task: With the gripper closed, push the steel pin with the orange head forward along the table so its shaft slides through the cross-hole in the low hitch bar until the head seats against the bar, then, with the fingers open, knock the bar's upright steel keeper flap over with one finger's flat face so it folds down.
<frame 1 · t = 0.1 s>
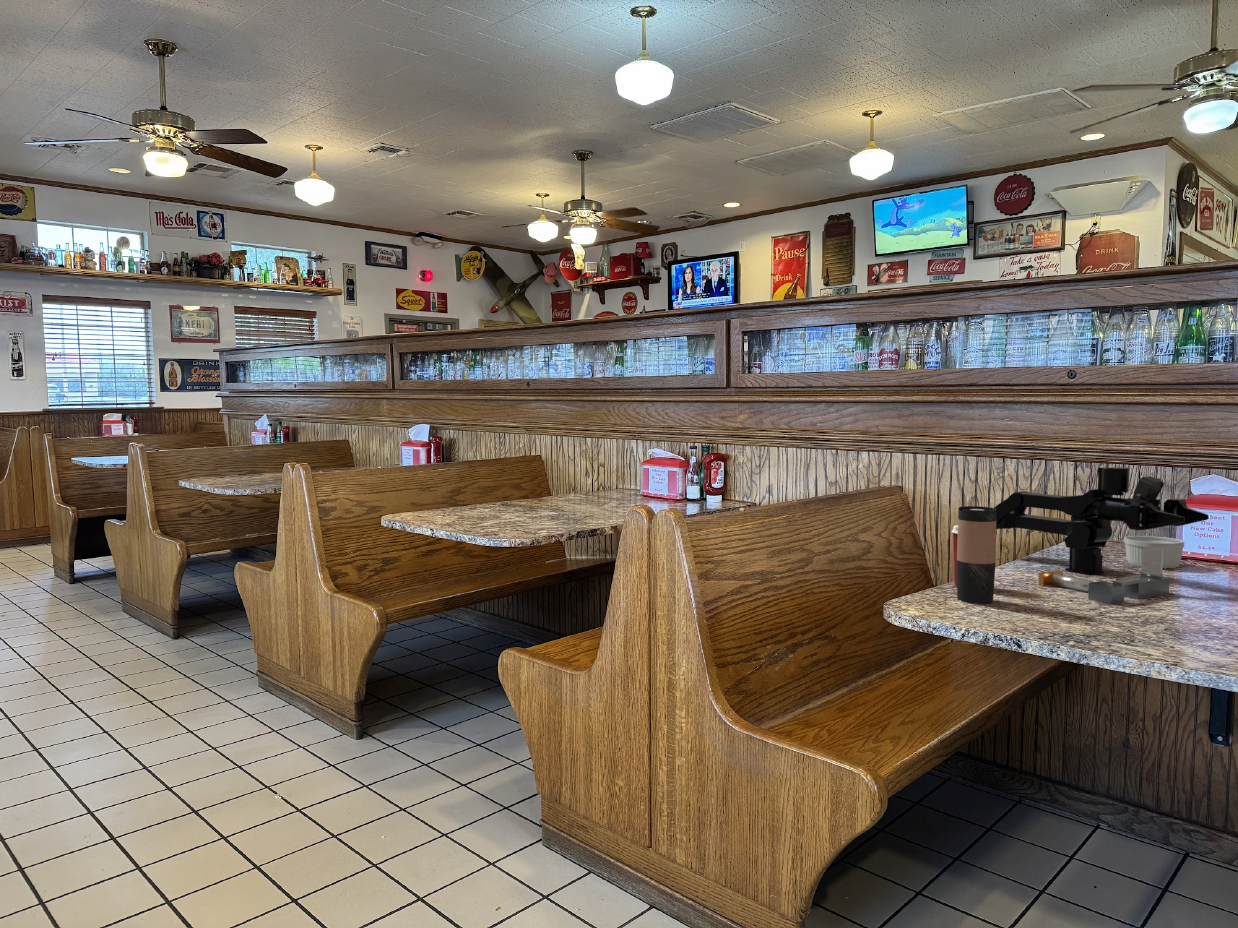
hand: (1196, 518, 181), 17 cm above the table, tool horizontal, fingers open, 9 cm apart
paper cup: (968, 587, 188), on the table
keeper flap: (1152, 562, 181), point 7 cm above the table, hinge at -5.0°
ramekin: (1152, 566, 213), on the table
travel mug: (974, 601, 175), on the table
hitch bar: (1129, 596, 178), on the table
pin: (1050, 584, 190), on the table
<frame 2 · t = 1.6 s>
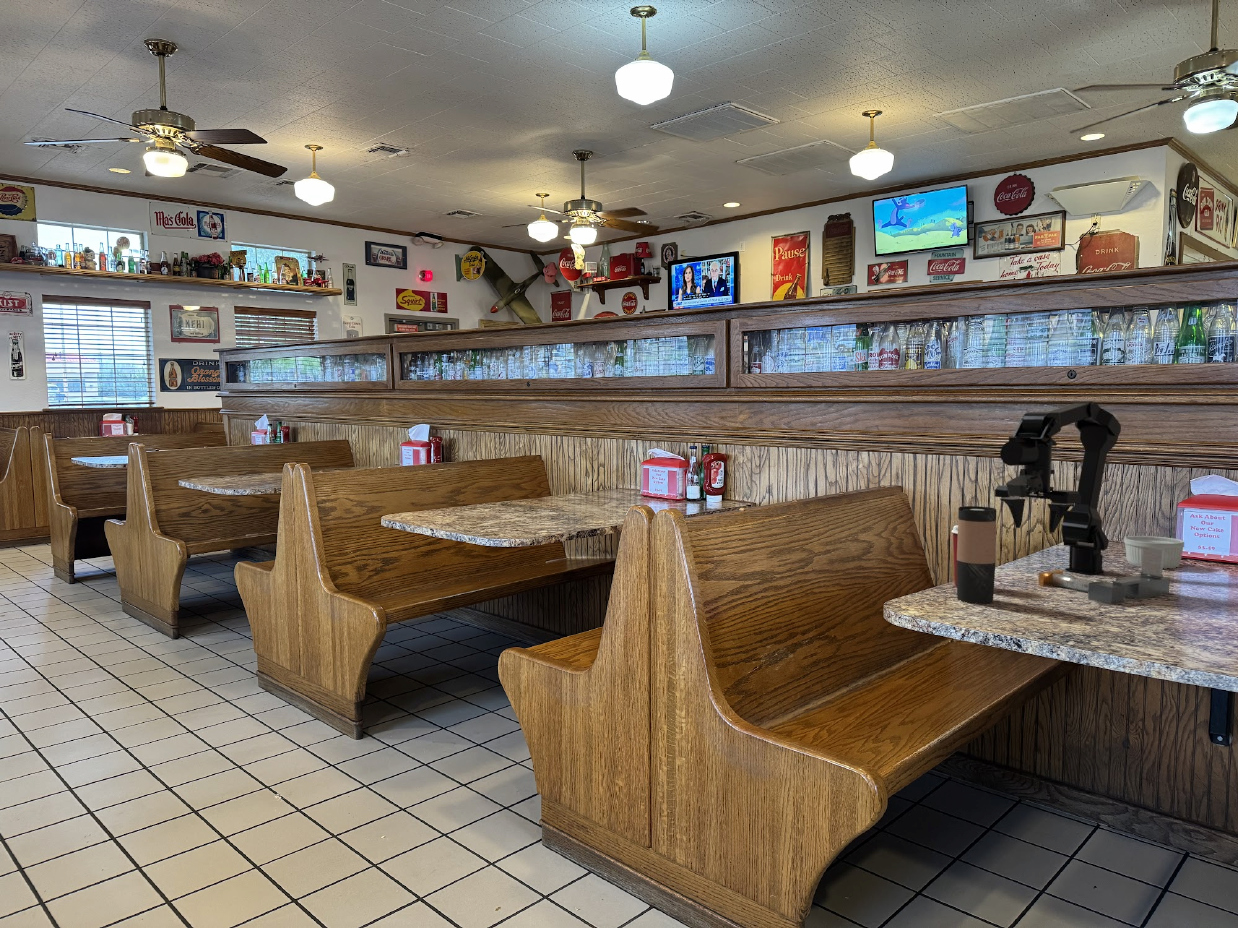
hand: (1034, 530, 193), 12 cm above the table, tool pointing down, fingers open, 8 cm apart
nothing on the table moved.
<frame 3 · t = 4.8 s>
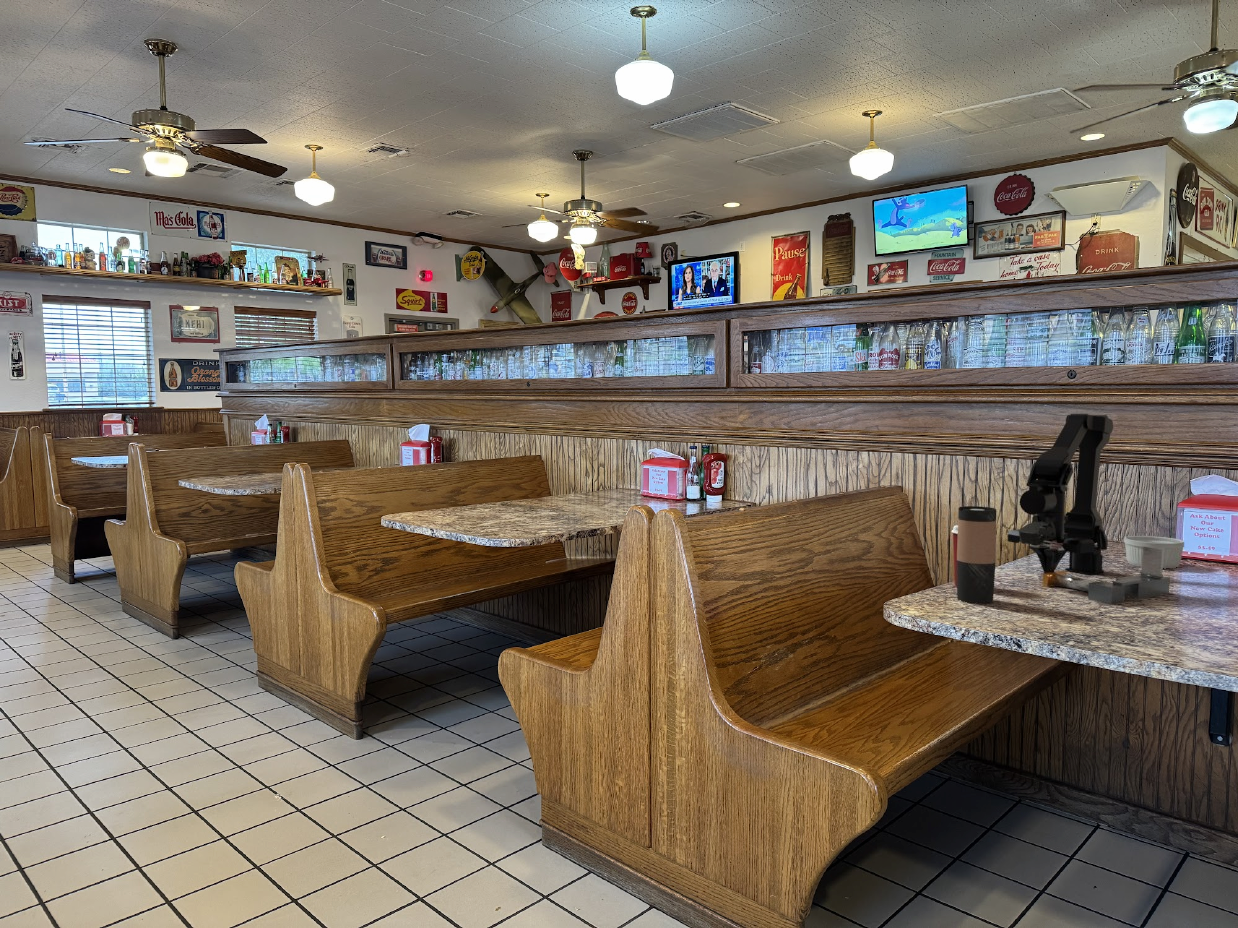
hand: (1048, 576, 191), 2 cm above the table, tool pointing down, fingers closed
pin: (1054, 584, 189), on the table, touching gripper
everything else where it was.
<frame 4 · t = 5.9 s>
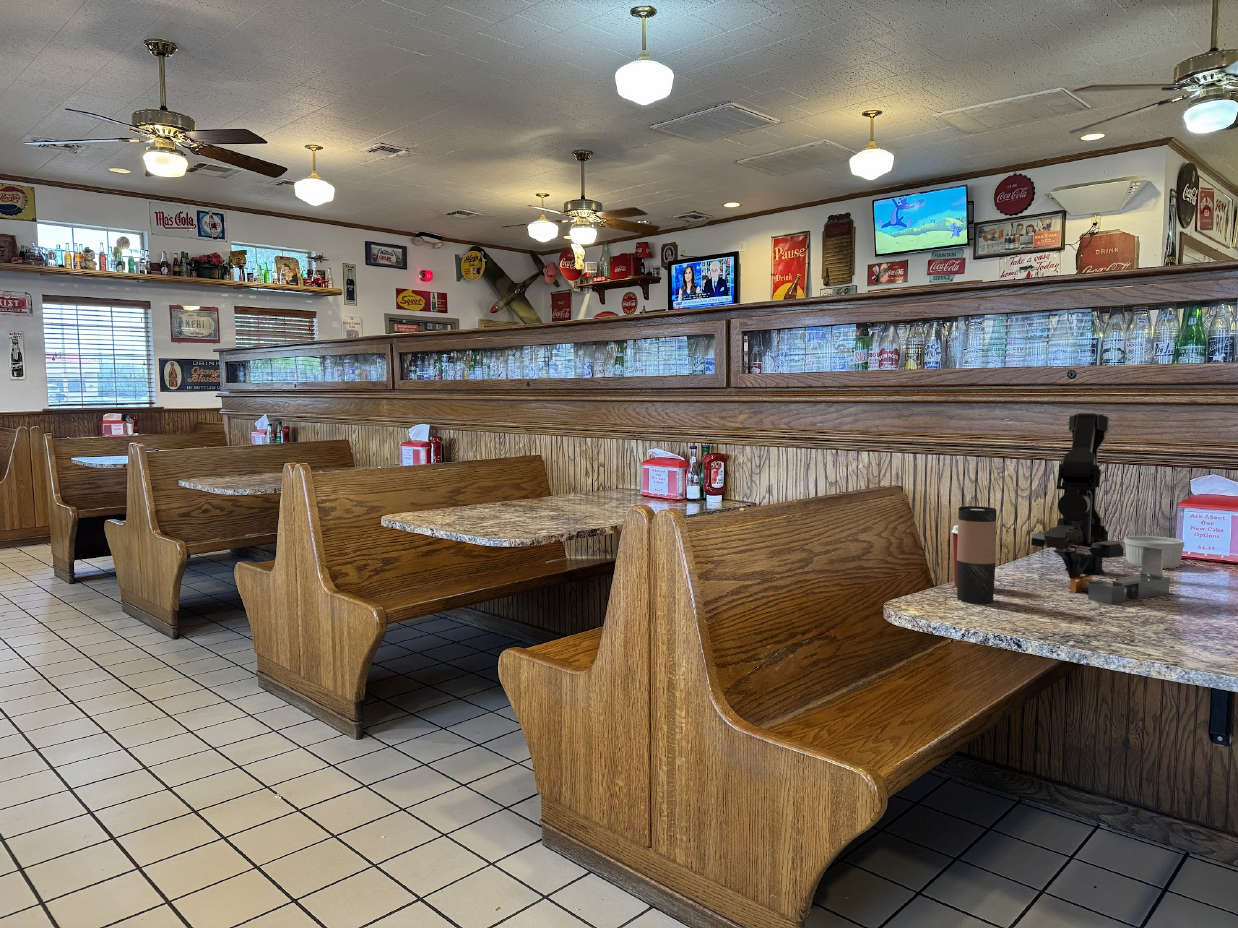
hand: (1073, 581, 185), 2 cm above the table, tool pointing down, fingers closed
pin: (1081, 590, 184), on the table, touching gripper
everything else where it was.
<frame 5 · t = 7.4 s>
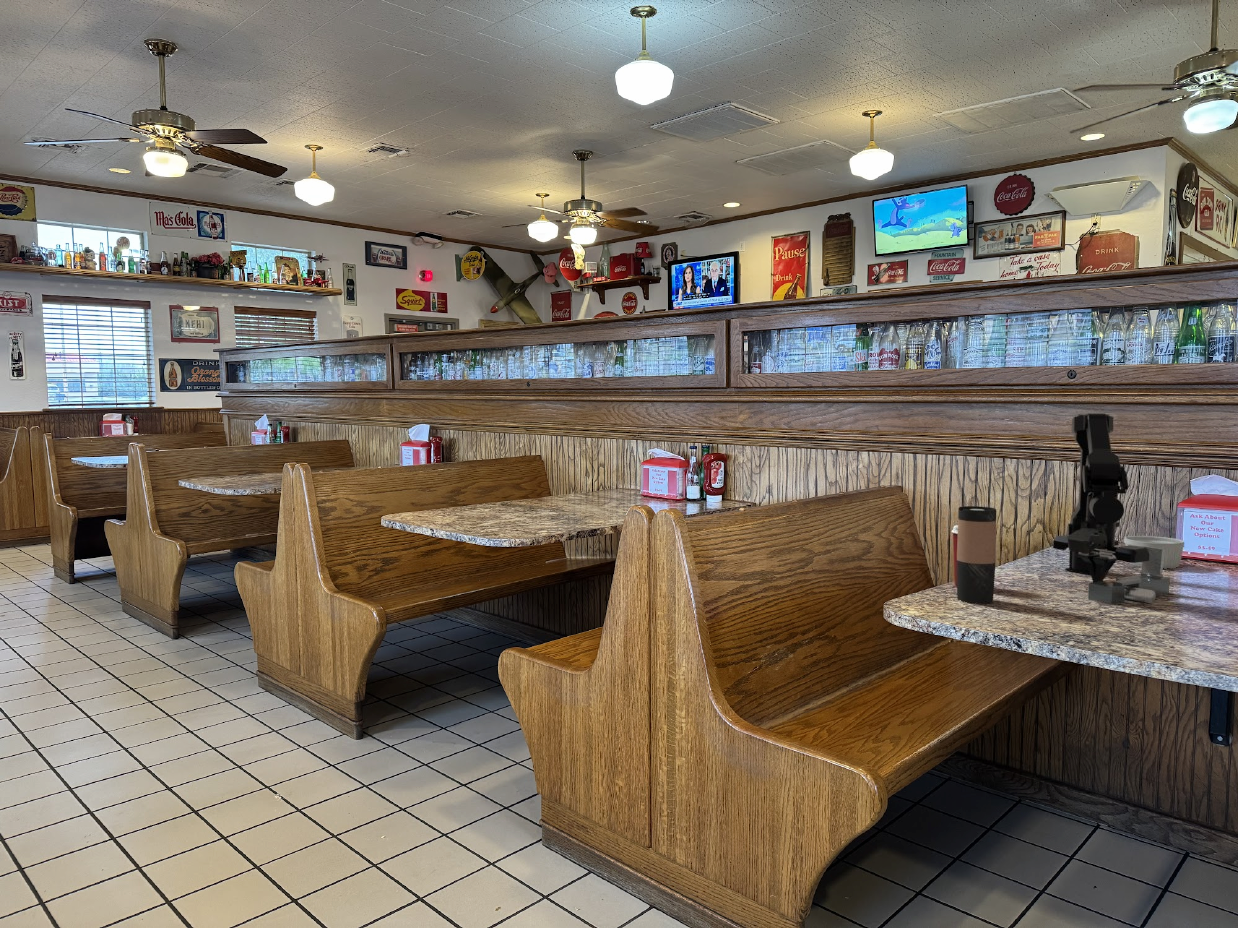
hand: (1097, 586, 180), 2 cm above the table, tool pointing down, fingers closed
pin: (1104, 594, 179), on the table, touching gripper, hitch bar
everything else where it was.
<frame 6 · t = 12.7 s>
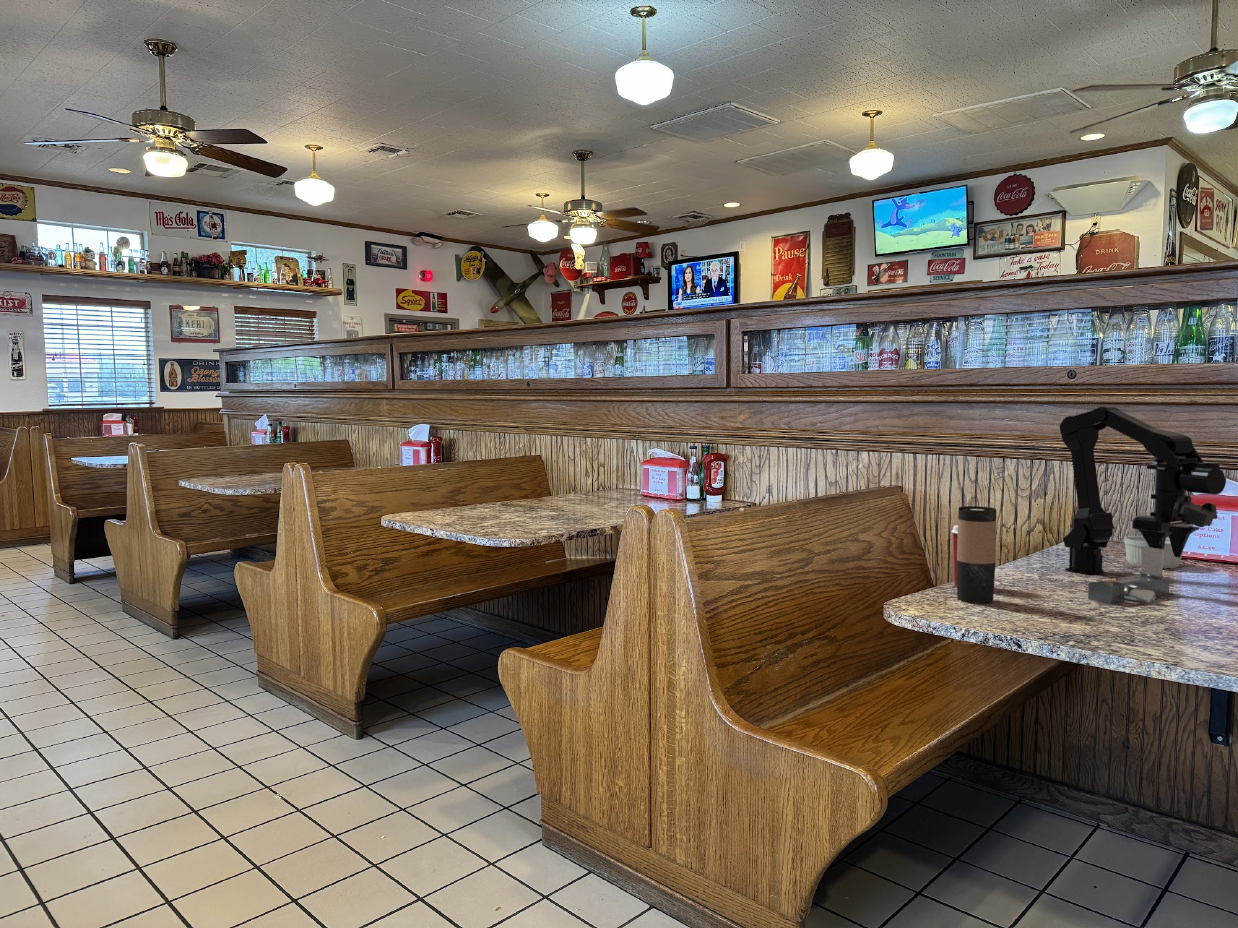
hand: (1168, 558, 184), 7 cm above the table, tool pointing down, fingers open, 7 cm apart
keeper flap: (1152, 562, 181), point 7 cm above the table, hinge at -4.4°, touching gripper
pin: (1104, 595, 179), on the table
everything else where it was.
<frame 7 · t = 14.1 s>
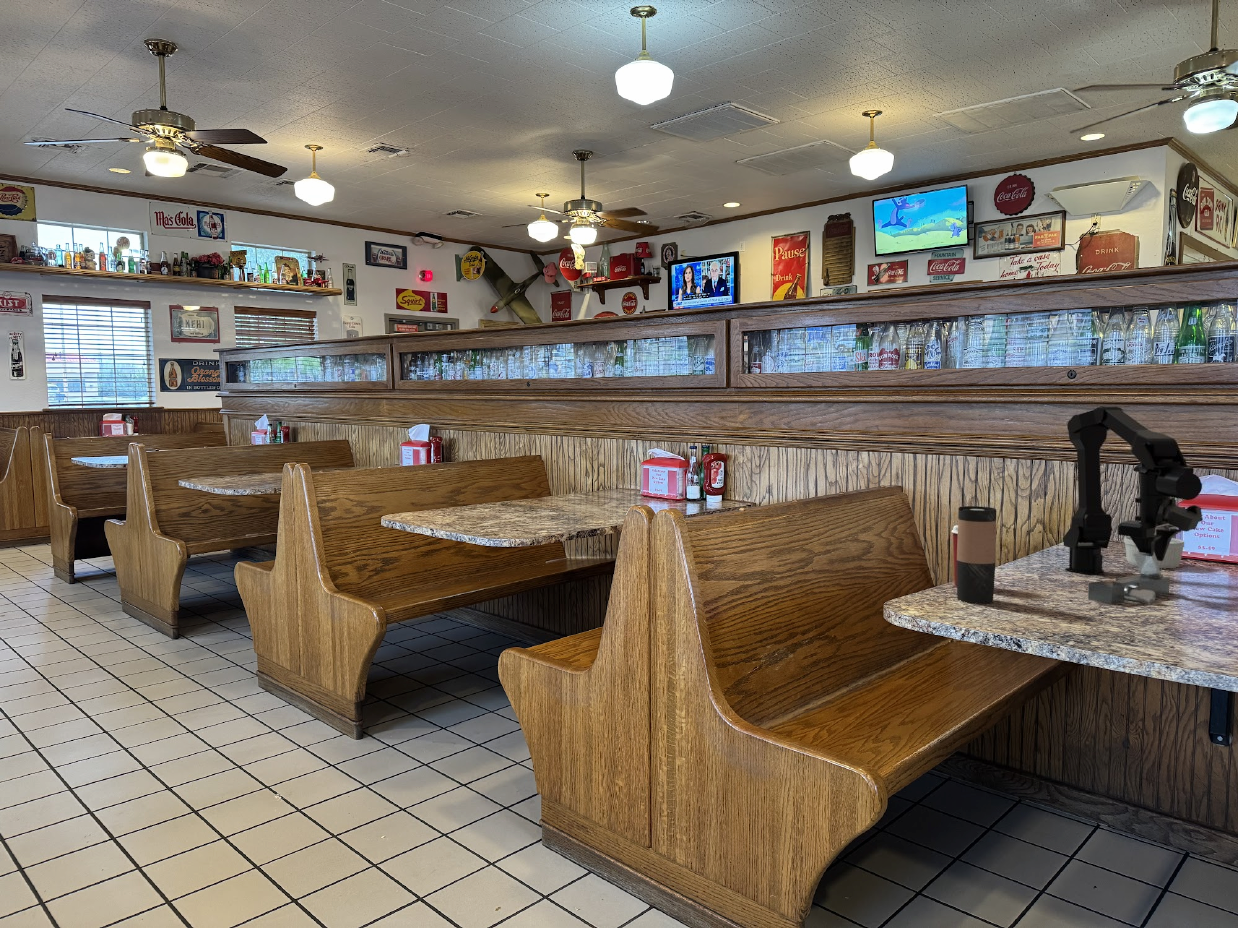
hand: (1154, 562, 181), 7 cm above the table, tool pointing down, fingers open, 4 cm apart
keeper flap: (1147, 565, 180), point 6 cm above the table, hinge at 34.6°, touching gripper
everything else where it was.
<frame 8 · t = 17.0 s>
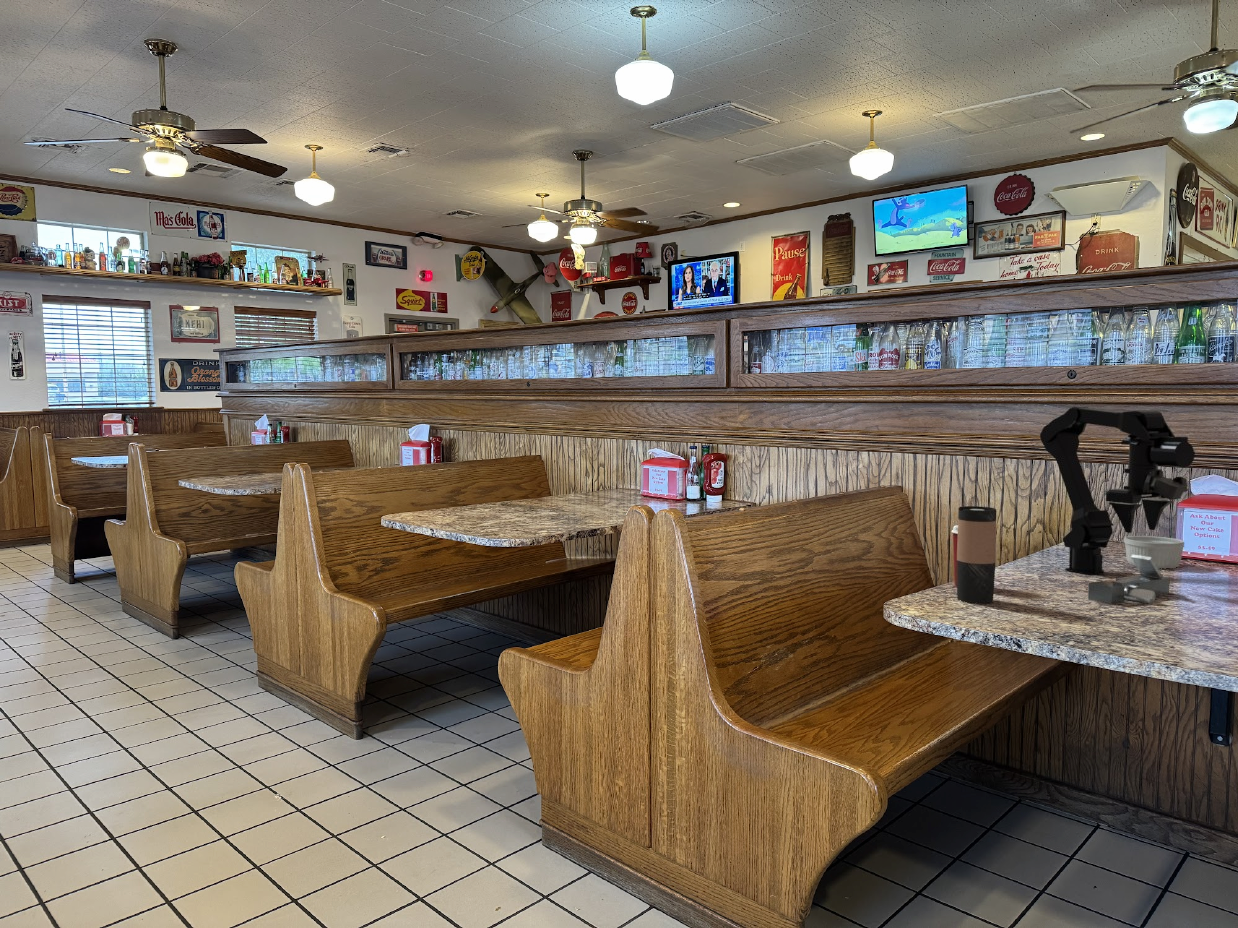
hand: (1140, 531, 189), 13 cm above the table, tool pointing down, fingers open, 9 cm apart
keeper flap: (1146, 566, 180), point 6 cm above the table, hinge at 44.2°
everything else where it was.
at the end: pin 0.2 cm from the target spot on the hitch bar, point 0.0 cm above the hitch bar's base; keeper flap at +44° (first picture: -5°) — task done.
